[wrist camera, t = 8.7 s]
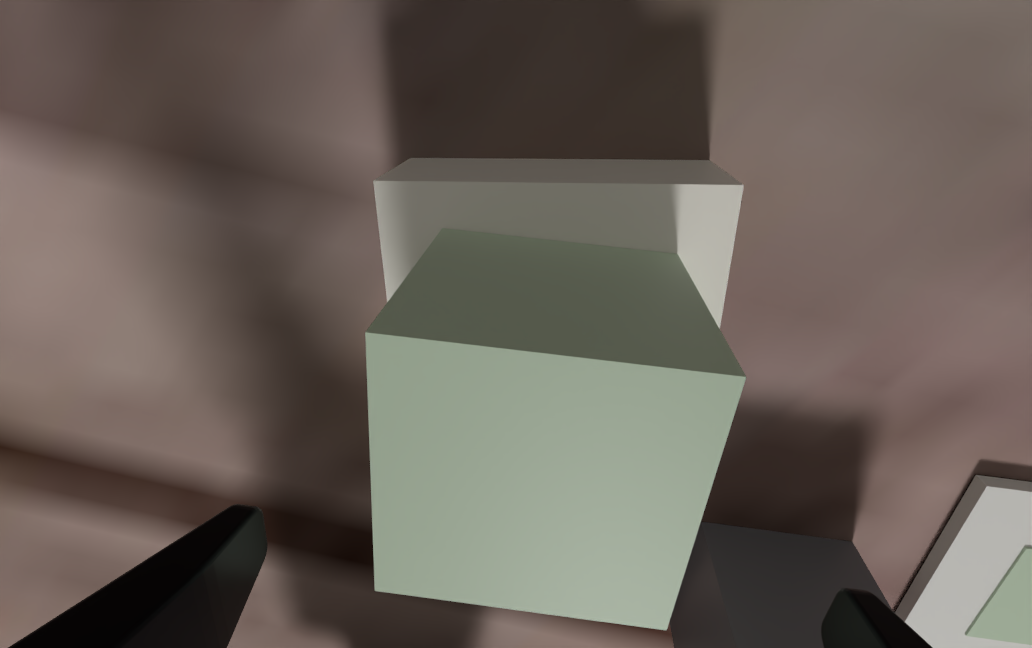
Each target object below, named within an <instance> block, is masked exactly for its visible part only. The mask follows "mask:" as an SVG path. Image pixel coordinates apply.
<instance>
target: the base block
mask: <svg viewBox="0 0 1032 648" xmlns="http://www.w3.org/2000/svg"><path fill="white" fill-rule="evenodd" d="M373 183H374V192H375V200H376V209H377V218H378V226H379V235H380V244H381V252H382V261H383V270H384V278H385V287H386V296H387V302H388V301H389V300H390V298H391V297H392V296H393V294H394V293H395V292H396V290H397V289H398V287H399V286H400V285H401V283H402V282H403V281H404V279H405V278H406V277H407V275H408V274H409V273H410V271H411V270H412V268H413V267H414V266H415V264H416V263H417V262H418V260H419V259H420V258H421V256H422V255H423V254H424V252H425V251H426V250H427V248H428V247H429V245H430V244H431V243H432V241H433V240H434V239H435V237H436V236H437V235H438V233H439V232H440V231H441V229H442V228H446V229H455V230H464V231H473V232H482V233H492V234H501V235H510V236H519V237H528V238H537V239H546V240H556V241H565V242H574V243H583V244H592V245H601V246H610V247H619V248H629V249H638V250H647V251H656V252H665V253H674V254H678V255H679V257H680V259H681V261H682V263H683V264H684V266H685V268H686V270H687V272H688V273H689V275H690V277H691V279H692V281H693V282H694V284H695V286H696V288H697V290H698V291H699V293H700V295H701V297H702V299H703V300H704V302H705V304H706V306H707V307H708V309H709V311H710V313H711V315H712V316H713V318H714V320H715V322H716V324H717V325H718V327H719V329H720V324H721V318H722V312H723V306H724V300H725V294H726V288H727V282H728V276H729V270H730V264H731V258H732V252H733V246H734V240H735V234H736V229H737V223H738V217H739V211H740V205H741V199H742V193H743V187H744V185H743V184H742V183H740V182H739V181H738V180H736V179H735V178H733V177H732V176H731V175H729V174H728V173H727V172H725V171H724V170H722V169H721V168H720V167H718V166H717V165H716V164H714V163H713V162H711V161H710V160H630V159H501V158H410V159H408V160H406V161H405V162H403V163H401V164H400V165H398V166H396V167H395V168H393V169H392V170H390V171H388V172H387V173H385V174H383V175H382V176H380V177H379V178H377V179H375V180H374V181H373Z"/></svg>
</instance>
